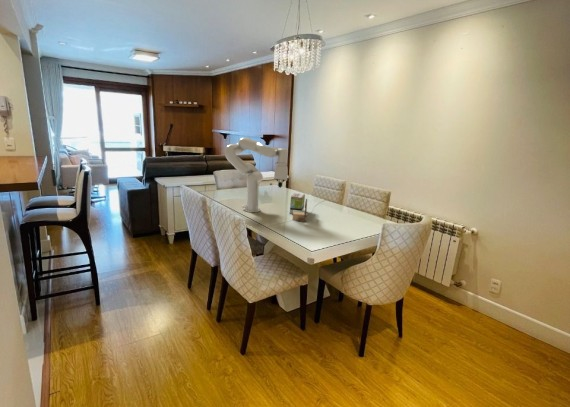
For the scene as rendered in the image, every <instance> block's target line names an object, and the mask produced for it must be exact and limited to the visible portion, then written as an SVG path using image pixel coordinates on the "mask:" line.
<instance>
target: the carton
mask: <svg viewBox="0 0 570 407" xmlns="http://www.w3.org/2000/svg"><path fill="white" fill-rule="evenodd" d="M298 217H302V218H304V217H305V210H303V211H302V210H293V214H292V221H298Z"/></svg>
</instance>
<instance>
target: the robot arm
mask: <svg viewBox="0 0 570 407" xmlns="http://www.w3.org/2000/svg"><path fill="white" fill-rule="evenodd" d="M246 150H248V151H251V152H253V153H257V154H259V155H260V156H264V157H266V158H276V157H277V161H276V162H275V165H276V166H275V167H274V168H275V169H274V176H273V180H275V181H277V183H278V184H277V186H278V188H279V189H281V188H282V187H283V183H284V182H287V181H288V176H289V175H288V172H289V170H288V169H289V168H288V166H287V165H288V154H289V150H288V148H280V147H275V146H273V147H270V146H266V145H263V144H262V143H261V142H259V141H257V140H254V139H252V138H250V137H245V136H244V137H241V138H240V139H239V140H238V142H237V143H231V144H228V145H226V147H225V149H224V156H225V158H226V160H227V161H228V162H229V163H230V164H231V165H232V166H233V167H234V169H236V170H237V171H238V173H240V175H242V176H245V175H246V192H247V193H246V204H241V207H242V208H244V211H245V212H248V213H257V212H260V211H261V208H259V198H260V195H259V194H260V192H259V191H260V188H259V183H260V182H262V181H263V180H264V179H263V178H264V176H263V174H262V172H261V171H260V170H259V169H258V168H257V167H256V166H255V165H254V164H252V163H251V162H245V161H244V160H243V159H241V157H239V156H238V155H239V154H241V153H243V152H245V151H246Z"/></svg>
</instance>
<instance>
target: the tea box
mask: <svg viewBox="0 0 570 407" xmlns="http://www.w3.org/2000/svg"><path fill="white" fill-rule="evenodd" d="M305 197H306V194H304V193H295V192H293V194H292V195H291V196H290V204H289V205H290V206H289V214H292V215H293V210H302V211H305V201H306V198H305Z"/></svg>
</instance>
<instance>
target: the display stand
mask: <svg viewBox="0 0 570 407" xmlns="http://www.w3.org/2000/svg"><path fill="white" fill-rule="evenodd" d="M307 210H308V198H305V201H304V212H305V216H304V218H302V217H298V220H297V222H300V223H306V222H307Z"/></svg>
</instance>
